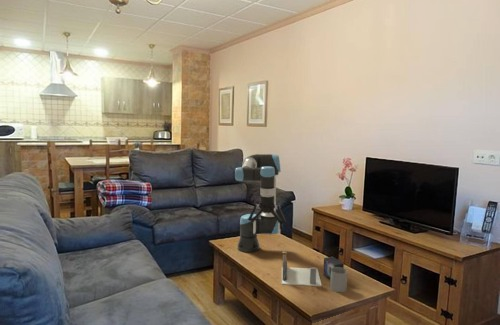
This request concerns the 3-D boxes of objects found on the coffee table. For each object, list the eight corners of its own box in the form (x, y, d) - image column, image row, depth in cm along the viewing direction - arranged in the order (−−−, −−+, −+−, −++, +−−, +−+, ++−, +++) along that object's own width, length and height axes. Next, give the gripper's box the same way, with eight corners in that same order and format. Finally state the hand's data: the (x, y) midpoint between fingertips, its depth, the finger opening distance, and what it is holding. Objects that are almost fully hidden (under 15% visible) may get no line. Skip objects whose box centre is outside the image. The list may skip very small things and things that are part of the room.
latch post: (309, 283, 191) (310, 267, 190) (315, 283, 191) (315, 267, 190) (310, 285, 189) (310, 269, 187) (315, 285, 188) (316, 269, 187)
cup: (336, 293, 180) (337, 274, 178) (326, 286, 187) (327, 268, 186) (349, 290, 183) (350, 272, 182) (339, 283, 191) (340, 266, 189)
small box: (322, 275, 201) (323, 257, 199) (332, 273, 203) (332, 256, 202) (333, 283, 191) (334, 264, 190) (343, 281, 194) (344, 262, 192)
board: (281, 268, 210) (281, 267, 210) (317, 269, 208) (317, 268, 208) (281, 284, 189) (281, 283, 189) (321, 286, 187) (321, 285, 187)
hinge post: (282, 279, 195) (282, 260, 193) (286, 279, 194) (287, 260, 193) (282, 281, 192) (282, 262, 191) (286, 281, 192) (287, 262, 191)
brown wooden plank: (282, 277, 195) (282, 262, 194) (282, 265, 211) (282, 251, 210) (286, 277, 195) (287, 262, 194) (286, 265, 211) (286, 251, 210)
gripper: (242, 195, 188) (242, 234, 190) (289, 198, 182) (288, 238, 185) (246, 192, 195) (245, 230, 197) (291, 195, 189) (290, 233, 192)
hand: (266, 234), depth 191 cm, fingers open, 13 cm apart
